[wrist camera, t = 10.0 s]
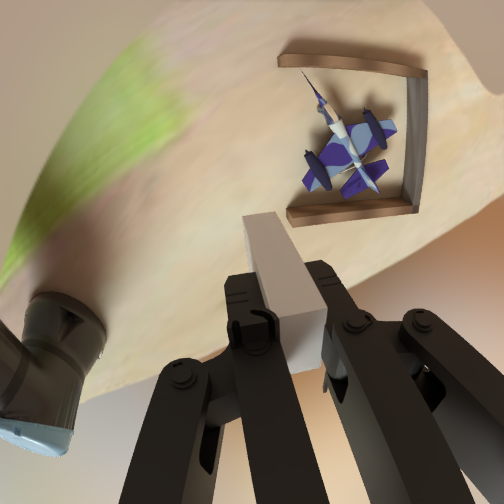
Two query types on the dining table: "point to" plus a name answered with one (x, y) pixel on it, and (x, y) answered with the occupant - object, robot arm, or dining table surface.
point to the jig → (413, 153)
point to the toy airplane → (348, 152)
